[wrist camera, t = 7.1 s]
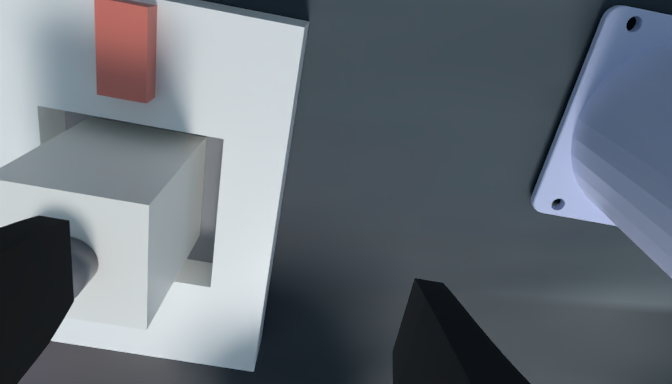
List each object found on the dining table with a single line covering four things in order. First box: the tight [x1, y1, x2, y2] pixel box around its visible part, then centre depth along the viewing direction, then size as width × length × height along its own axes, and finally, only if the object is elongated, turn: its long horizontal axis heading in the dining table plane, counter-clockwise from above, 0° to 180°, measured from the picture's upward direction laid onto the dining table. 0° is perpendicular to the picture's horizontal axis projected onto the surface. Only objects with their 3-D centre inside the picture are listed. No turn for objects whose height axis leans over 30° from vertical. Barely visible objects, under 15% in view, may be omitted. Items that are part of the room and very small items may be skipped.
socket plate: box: [0, 0, 309, 372], centre depth 19 cm, size 11×15×3 cm
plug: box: [0, 117, 207, 330], centre depth 16 cm, size 4×4×7 cm
